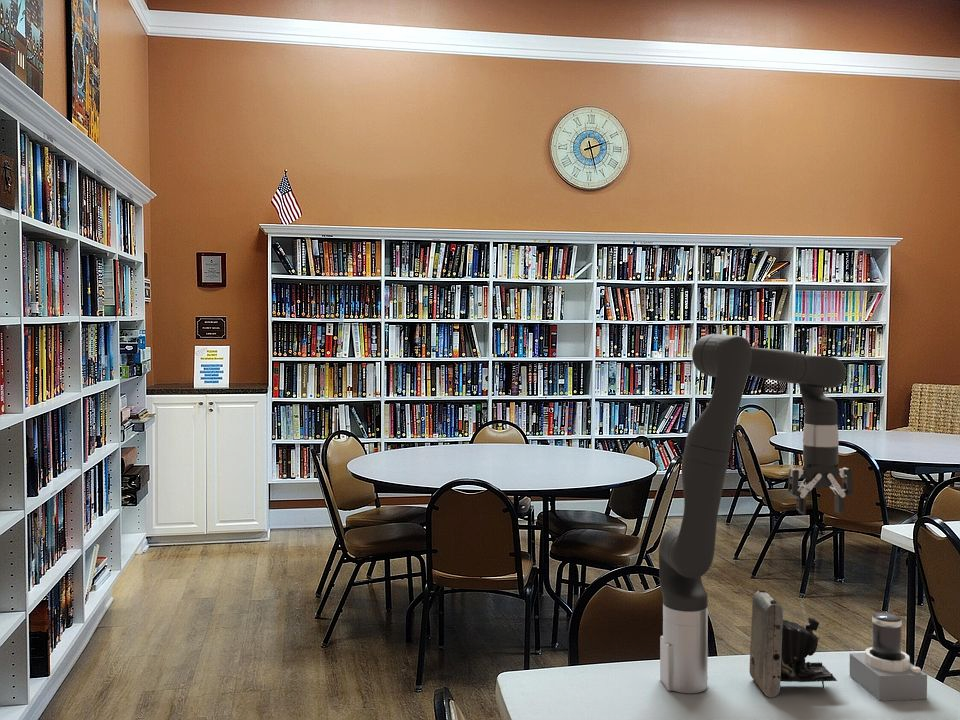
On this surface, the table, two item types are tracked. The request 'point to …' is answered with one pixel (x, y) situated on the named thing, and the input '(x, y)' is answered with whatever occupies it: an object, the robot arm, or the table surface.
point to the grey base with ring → (888, 676)
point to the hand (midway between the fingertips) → (820, 513)
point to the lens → (886, 636)
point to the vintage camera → (781, 648)
